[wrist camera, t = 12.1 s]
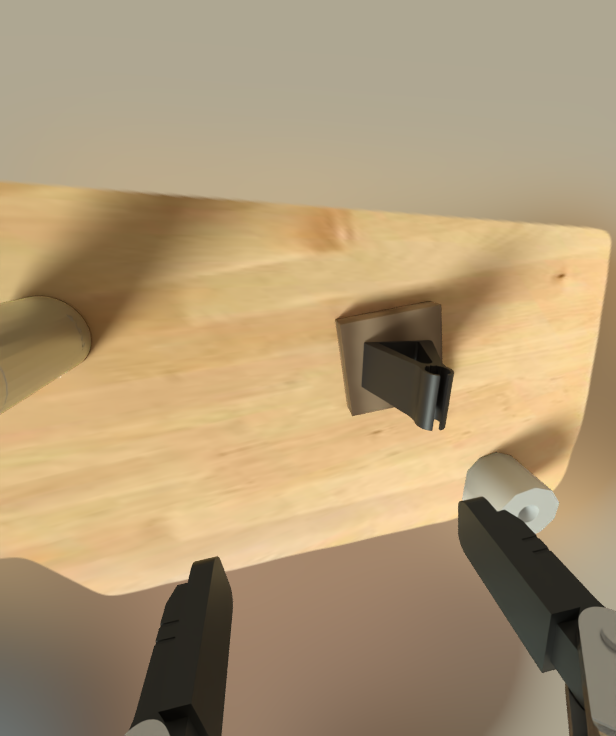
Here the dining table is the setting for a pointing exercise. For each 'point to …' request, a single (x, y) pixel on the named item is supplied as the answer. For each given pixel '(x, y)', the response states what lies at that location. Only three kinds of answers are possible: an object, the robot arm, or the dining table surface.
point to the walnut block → (382, 327)
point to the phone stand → (409, 379)
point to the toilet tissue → (511, 490)
